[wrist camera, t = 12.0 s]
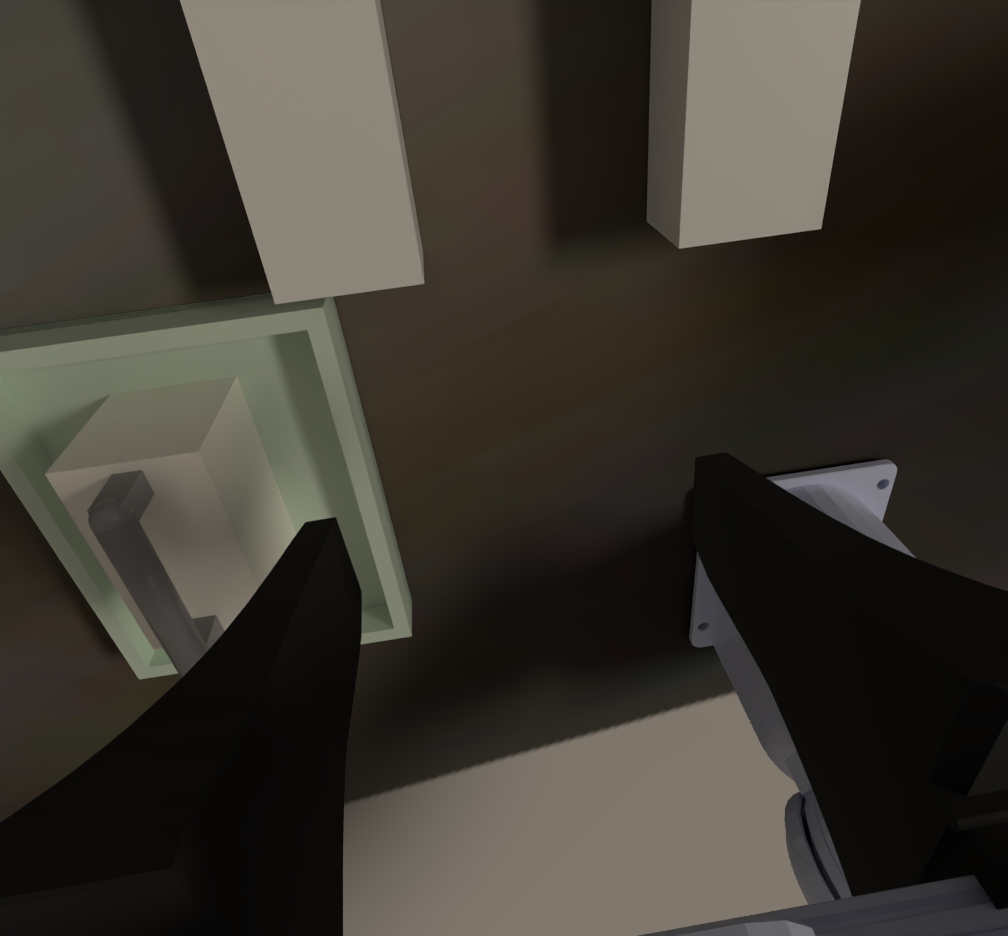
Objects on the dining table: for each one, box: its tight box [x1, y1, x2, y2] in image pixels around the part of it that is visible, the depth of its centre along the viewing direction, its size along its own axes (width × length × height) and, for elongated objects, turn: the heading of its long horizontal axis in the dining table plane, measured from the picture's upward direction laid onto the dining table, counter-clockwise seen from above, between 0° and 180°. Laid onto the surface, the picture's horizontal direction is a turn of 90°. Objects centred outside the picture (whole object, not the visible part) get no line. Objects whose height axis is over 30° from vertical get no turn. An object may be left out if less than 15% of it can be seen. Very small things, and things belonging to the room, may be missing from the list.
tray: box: [0, 293, 412, 679], centre depth 23 cm, size 14×11×2 cm
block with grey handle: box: [45, 376, 296, 677], centre depth 20 cm, size 7×4×6 cm, turn 6°
